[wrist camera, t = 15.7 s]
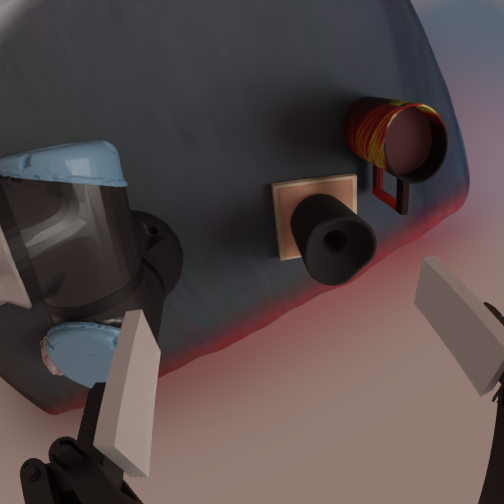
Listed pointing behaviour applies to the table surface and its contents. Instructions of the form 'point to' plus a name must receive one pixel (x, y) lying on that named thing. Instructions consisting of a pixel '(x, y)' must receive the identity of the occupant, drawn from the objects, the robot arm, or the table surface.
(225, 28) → the table surface
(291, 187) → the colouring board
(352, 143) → the mug
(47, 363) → the cupcake
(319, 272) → the pen holder
